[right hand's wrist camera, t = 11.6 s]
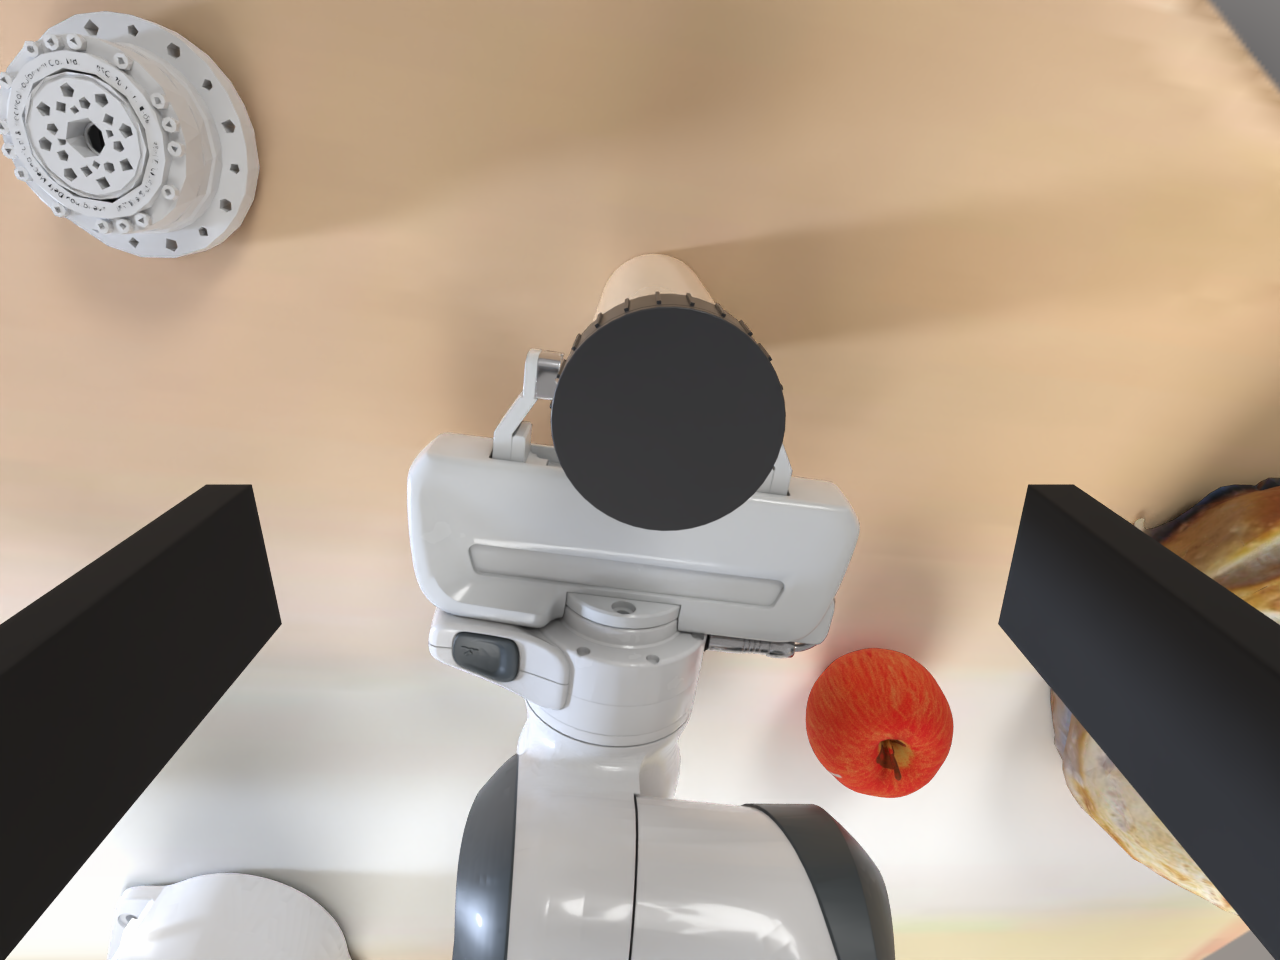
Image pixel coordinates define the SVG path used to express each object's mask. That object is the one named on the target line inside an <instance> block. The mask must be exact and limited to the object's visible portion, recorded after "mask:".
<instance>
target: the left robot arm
mask: <svg viewBox="0 0 1280 960" xmlns="http://www.w3.org/2000/svg"><path fill="white" fill-rule="evenodd" d="M563 360H564V353H560V352H553V351H547V350H542V349H532V348H531V349H530V350H529V352H528V353H527V358H526V363H525V374H524V386H523V390H522V392H521V393H520V395H519V396H518V397H517V399H516V400H515V401H514V403H513V404H512V406H511V407H510V408H509V410H508V411H507V412H506V414H505V415H504V417H503V418H502V420H501V421H500V423H499V425H498V426H497V428H496V430H495V431H494V438H488V437H480V436H473V435H465V434H457V433H442V434H440V435H438V436H437V437H436V438H435V439H433V440H432V441H431V442H430V443H429V444H427V445H426V446H425V447H424V448H423V449H422V450H421V452H420V453H419V454H418V455H417V457H416V458H415V459H414V461H413V463H412V465H411V467H410V470H409V473H408V479H407V508H408V525H409V536H410V545H411V552H412V559H413V565H414V571H415V575H416V578H417V581H418V584H419V586H420V588H421V590H422V592H423V593H424V595H425V596H426V597H427V599H428V600H429V601H430V602H431V603H432V604H433V605H435V606H436V607H437V608H436V611H435V614H434V617H433V620H432V624H431V629H430V634H429V650H430V653H431V654H432V656H433V657H434V658H435V659H437V660H438V661H440V662H442V663H444V664H446V665H449V666H451V667H454V668H456V669H459V670H462V671H464V672H467V673H469V674H472V675H475V676H477V677H480V678H482V679H484V680H487V681H489V682H492V683H494V684H496V685H498V686H501V687H503V688H505V689H507V690H509V691H511V692H513V693H516V694H518V695H520V696H521V697H523V698H524V699H525V704H526V708H527V713H528V718H527V721H526V723H525V725H524V727H523V729H522V732H521V734H520V737H519V741H518V746H517V753H516V754H515V755H514V756H512V757H511V758H510V759H509V760H508V761H506V762H505V763H504V764H503V765H502V766H501V767H500V768H499V769H498V770H497V772H496V773H495V774H494V775H493V776H492V777H491V778H490V779H489V781H488V782H487V783H486V784H485V785H484V786H483V788H482V789H481V790H480V791H479V793H478V794H477V796H476V798H475V800H474V802H473V805H472V807H471V810H470V812H469V815H468V818H467V822H466V825H465V829H464V833H463V838H462V843H461V849H460V855H459V863H458V872H457V885H456V905H455V937H454V948H453V958H452V960H895V950H894V936H893V926H892V918H891V911H890V905H889V899H888V895H887V890H886V887H885V883H884V881H883V878H882V875H881V873H880V871H879V870H878V868H877V867H876V865H875V864H874V862H873V861H872V860H871V858H870V857H869V856H868V854H867V853H866V852H865V850H864V849H863V848H862V847H861V846H860V844H859V843H858V842H857V841H856V840H855V839H854V838H853V837H852V836H851V835H850V834H849V833H848V832H847V831H846V830H845V829H844V828H843V827H842V826H841V825H840V824H839V823H838V822H837V821H836V820H835V819H834V818H833V817H832V816H831V815H829V814H828V813H827V812H826V811H825V810H824V809H822V808H821V807H819V806H817V805H814V804H744V805H741V806H737V805H727V804H717V803H707V802H697V801H687V800H678V799H674V796H675V791H676V787H677V783H678V778H679V771H680V750H679V744H678V739H679V736H680V734H681V733H682V731H683V730H684V728H685V727H686V725H687V723H688V721H689V718H690V715H691V712H692V708H693V703H694V698H695V693H696V688H697V683H698V678H699V673H700V669H701V664H702V657H703V652H704V651H705V650H712V651H720V652H729V653H755V654H757V653H758V654H764V655H766V656H768V657H773V658H791V657H793V655H794V652H799V651H804V650H807V649H810V648H812V647H814V646H816V645H818V644H820V643H822V642H823V641H824V639H825V638H826V636H827V634H828V631H829V628H830V624H831V620H832V617H833V613H834V609H835V595H836V593H837V591H838V589H839V587H840V584H841V582H842V580H843V577H844V575H845V573H846V570H847V568H848V565H849V563H850V560H851V557H852V555H853V552H854V549H855V546H856V543H857V540H858V537H859V532H860V524H859V520H858V517H857V515H856V513H855V511H854V509H853V507H852V505H851V503H850V502H849V500H848V499H847V498H846V496H845V495H844V494H843V493H842V491H841V490H840V489H839V487H838V486H837V485H836V484H834V483H832V482H830V481H825V480H817V479H809V478H801V477H793V476H791V475H792V468H791V465H790V462H789V460H788V457H787V454H786V451H785V448H784V445H783V443H782V446H781V449H780V452H779V455H778V458H777V460H776V462H775V464H774V466H773V468H772V471H771V472H770V474H769V475H768V477H767V478H766V480H765V481H764V483H763V484H762V485H761V486H760V488H759V489H758V490H757V491H756V492H755V494H754V495H753V496H751V497H750V498H749V499H748V500H747V501H746V502H745V503H744V504H743V505H741V506H740V507H738V508H737V509H736V510H734V511H733V512H731V513H730V514H728V515H726V516H724V517H722V518H720V519H719V520H716V521H714V522H711V523H709V524H706V525H703V526H699V527H695V528H692V529H685V530H678V531H656V530H647V529H642V528H638V527H633V526H630V525H628V524H625V523H622V522H619V521H617V520H615V519H613V518H611V517H609V516H607V515H606V514H604V513H602V512H601V511H599V510H598V509H596V508H595V507H594V506H593V505H591V504H590V503H589V502H588V501H587V500H585V499H584V498H583V497H582V496H581V494H580V493H579V492H578V491H577V490H576V489H575V488H574V486H573V485H572V484H571V482H570V481H569V479H568V478H567V476H566V475H565V473H564V471H563V469H562V467H561V465H560V463H559V460H558V457H557V455H556V452H555V448H554V446H551V445H543V444H535V443H531V435H532V424H531V422H526V421H522V420H523V419H524V417H525V416H526V415H527V413H528V412H529V411H530V409H531V408H532V406H533V405H534V404H535V402H536V401H537V400H538V399H547V400H552V399H553V396H554V392H555V389H556V386H557V383H558V380H559V378H556V377H557V374H558V372H559V370H560V367H561V365H562V363H563ZM795 642H797V644H795ZM107 960H352V959H351V957H350V955H349V952H348V948H347V944H346V940H345V937H344V935H343V932H342V930H341V929H340V927H339V925H338V924H337V922H336V921H335V919H334V918H333V917H332V916H331V915H330V914H329V913H328V911H327V910H325V909H324V908H323V907H322V906H321V905H320V904H319V903H317V902H316V901H315V900H313V899H312V898H310V897H309V896H307V895H306V894H304V893H302V892H300V891H298V890H296V889H294V888H292V887H290V886H288V885H286V884H283V883H280V882H277V881H274V880H271V879H268V878H264V877H260V876H255V875H249V874H240V873H214V874H206V875H201V876H196V877H193V878H189V879H186V880H184V881H181V882H178V883H175V884H171V885H166V886H135V887H131V888H128V889H126V890H125V891H124V893H123V894H122V896H121V898H120V900H119V901H118V903H117V905H116V909H115V915H114V921H113V926H112V932H111V938H110V944H109V950H108V956H107Z"/></svg>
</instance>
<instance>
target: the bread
mask: <svg viewBox="0 0 1280 960" xmlns="http://www.w3.org/2000/svg"><path fill="white" fill-rule="evenodd" d="M1144 521H1145V519H1144V518H1140V519H1138V520H1136V521H1135V523H1134V525H1135V527H1137V528H1138V529H1140V530H1141V531H1143V532H1144V533H1146V534H1147V535H1148V536H1150V537H1151V538H1153V539H1154V540H1156V541H1157V542H1159V543H1160V544H1162V545H1163V546H1165V547H1166V548H1168V549H1169V550H1171V551H1172V552H1173V553H1175V554H1176V555H1178V556H1179V557H1181V558H1182V559H1184V560H1185V561H1187V562H1188V563H1190V564H1191V565H1193V566H1194V567H1196V568H1197V569H1198V570H1200V571H1201V572H1203V573H1204V574H1206V575H1207V576H1209V577H1210V578H1212V579H1213V580H1215V581H1216V582H1218V583H1219V584H1220V585H1222V586H1223V587H1225V588H1226V589H1228V590H1229V591H1231V592H1232V593H1234V594H1235V595H1237V596H1238V597H1240V598H1241V599H1243V600H1244V601H1245V602H1247V603H1248V604H1250V605H1251V606H1253V607H1254V608H1256V609H1257V610H1259V611H1260V612H1262V613H1263V614H1265V615H1266V616H1268V617H1269V618H1270V619H1272V620H1273V621H1275V622H1276V623H1278V624H1279V625H1280V478H1268V479H1266V480H1263V481H1261V482H1260V483H1258V484H1257V485H1256V486H1253V485H1230V486H1224V487H1220V488H1218V489H1217V490H1215V491H1213V492H1211V493H1210V494H1208V495H1207V496H1206V497H1205V498H1203V499H1202V500H1201V501H1200V502H1199V503H1197V504H1196V505H1195V506H1194V507H1192V508H1191V509H1189V510H1188V511H1186V512H1185V513H1183V514H1182V515H1180V516H1179V517H1177V518H1176V519H1174V520H1172V521H1170V522H1167V523H1165V524H1163V525H1160V526H1158V527H1156V528H1153V529H1146V528H1144V525H1143V523H1144ZM1051 709H1052V718H1053V726H1054V732H1055V738H1054V744H1055V746H1056V748H1057V750H1058V752H1059V754H1060V756H1061V758H1062V760H1063V773H1064V776H1065V780H1066V783H1067V786H1068V788H1069V790H1070V791H1071V793H1072V795H1073V797H1074V798H1075V799H1076V801H1077V802H1078V804H1079V805H1080V806H1081V808H1082V809H1083V810H1084V811H1085V812H1087V813H1088V814H1089V815H1090V816H1091V817H1092V818H1093V819H1094V820H1095V821H1096V822H1097V823H1098V824H1099V825H1100V826H1101V827H1102V828H1103V829H1104V830H1105V831H1106V832H1107V833H1108V834H1109V835H1110V836H1111V837H1112V838H1113V839H1114V840H1115V841H1116V842H1117V843H1118V844H1119V845H1120V846H1121V847H1122V848H1123V849H1124V850H1125V851H1126V852H1127V853H1128V854H1129V855H1130V856H1131V857H1132V858H1133V859H1135V860H1136V861H1138V862H1140V863H1142V864H1144V865H1145V866H1147V867H1148V868H1150V869H1151V870H1153V871H1154V872H1156V873H1157V874H1159V875H1160V876H1162V877H1164V878H1166V879H1168V880H1169V881H1171V882H1173V883H1175V884H1176V885H1178V886H1180V887H1182V888H1184V889H1186V890H1188V891H1190V892H1192V893H1194V894H1196V895H1198V896H1200V897H1202V898H1204V899H1206V900H1208V901H1210V902H1211V903H1213V904H1214V905H1216V906H1217V907H1219V908H1221V909H1223V910H1224V911H1227V912H1230V913H1233V914H1235V915H1238V914H1237V913H1236V911H1235V910H1234V909H1233V908H1232V907H1231V905H1230V904H1229V903H1228V902H1227V901H1226V899H1225V898H1224V897H1223V896H1222V895H1221V893H1220V892H1219V891H1218V890H1217V888H1216V887H1215V886H1214V885H1213V884H1212V882H1211V881H1210V880H1209V879H1208V878H1207V876H1206V875H1205V874H1204V873H1203V871H1202V870H1201V869H1200V868H1199V867H1198V865H1197V864H1196V863H1195V862H1194V861H1193V859H1192V858H1191V857H1190V856H1189V855H1188V853H1187V852H1186V851H1185V850H1184V848H1183V847H1182V846H1181V845H1180V844H1179V842H1178V841H1177V840H1176V839H1175V838H1174V836H1173V835H1172V834H1171V833H1170V831H1169V830H1168V829H1167V828H1166V827H1165V825H1164V824H1163V823H1162V822H1161V821H1160V819H1159V818H1158V817H1157V816H1156V815H1155V813H1154V812H1153V811H1152V810H1151V808H1150V807H1149V806H1148V805H1147V804H1146V802H1145V801H1144V800H1143V799H1142V798H1141V796H1140V795H1139V794H1138V793H1137V792H1136V790H1135V789H1134V788H1133V787H1132V785H1131V784H1130V783H1129V782H1128V781H1127V779H1126V778H1125V777H1124V776H1123V775H1122V773H1121V772H1120V771H1119V770H1118V768H1117V767H1116V766H1115V765H1114V764H1113V762H1112V761H1111V760H1110V759H1109V758H1108V756H1107V755H1106V754H1105V753H1104V752H1103V750H1102V749H1101V748H1100V747H1099V745H1098V744H1097V743H1096V742H1095V741H1094V739H1093V738H1092V737H1091V736H1090V735H1089V733H1088V732H1087V731H1086V730H1085V728H1084V727H1083V726H1082V725H1081V724H1080V722H1079V721H1078V720H1077V719H1076V718H1075V716H1074V715H1073V714H1072V713H1071V712H1070V710H1069V709H1068V708H1067V707H1066V705H1065V704H1064V703H1063V702H1062V701H1061V699H1060V698H1059V697H1058V696H1057V695H1056V693H1055V692H1054V691H1053V690H1052V688H1051ZM1238 916H1239V915H1238Z"/></svg>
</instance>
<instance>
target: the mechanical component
mask: <svg viewBox="0 0 1280 960" xmlns="http://www.w3.org/2000/svg"><path fill="white" fill-rule="evenodd" d="M0 86H1V88H0V134H3V139H4V143H5V144H3V146H2V148H1V150H2V152H3V154H4V155H5V156H6V157H7V158H9V159H12V160H13V162H14V164H15V167H16V169H14V170H15V176H16V177H17V179H19V180H22V181H24V182H26V183H27V184H28V186H29V187H30V188H31V189H32V190H33V191H34V192H35V193H36V195H37V196H38V197H39V198H40V199H41V200H42V201H43V202H44V203H45V204H47V205H48V206H49V207H50V208H51V209H52V211H53V213H54V215H56V216H58V217H65V218H67V219H69V220H71V221H72V222H73V223H75V224H76V225H78V226H79V227H81V228H82V229H84V230H85V231H86V232H88V233H89V234H91V235H92V236H94V237H95V238H97V239H98V240H100V241H101V242H103V243H104V244H106V245H107V246H110V247H113V248H116V249H119V250H122V251H125V252H128V253H131V254H134V255H137V256H140V257H159V258H177V257H181V256H186V255H190V254H195V253H199V252H203V251H207V250H209V249H211V248H213V247H215V246H217V245H219V244H221V243H222V242H224V241H225V240H226V239H227V238H228V237H229V236H230V235H231V234H232V233H233V232H234V231H235V230H237V229H238V228H239V227H240V226H241V224H242V222H243V220H244V218H245V216H246V214H247V212H248V210H249V208H250V206H251V204H252V202H253V200H254V197H255V191H256V186H257V180H258V175H259V169H260V166H259V159H258V152H257V146H256V139H255V132H254V129H253V126H252V124H251V121H250V118H249V116H248V113H247V110H246V108H245V105H244V103H243V101H242V100H241V98H240V96H239V95H238V93H237V91H236V89H235V88H234V86H233V84H232V83H231V81H230V80H229V79H228V78H227V76H226V75H225V74H224V73H223V72H222V71H221V69H220V68H219V67H218V66H217V65H216V64H215V62H214V61H213V60H212V59H211V58H210V57H209V55H207V54H206V53H205V52H203V51H202V50H200V49H199V48H198V47H196V46H195V45H194V44H192V43H191V42H190V41H188V40H187V39H186V38H184V37H183V36H181V35H180V34H179V33H177V32H175V31H172V30H170V29H168V28H166V27H164V26H161V25H159V24H157V23H154V22H151V21H148V20H145V19H142V18H139V17H136V16H133V15H129V14H122V13H115V12H108V11H103V12H94V13H85V14H76V15H74V16H72V17H70V18H68V19H66V20H64V21H62V22H60V23H58V24H57V25H55V26H53V27H51V28H49V29H48V30H47V31H46V32H45V33H44V34H43V36H42V37H41V38H40V39H39V40H38V41H36V42H33V41H25V43H24V46H23V48H22V49H21V51H20V52H19V53H18V55H17V56H16V57H15V58H14V60H13V61H12V62H11V64H10V65H9V66H8V67H7V70H6V72H1V73H0ZM234 126H235V128H234Z"/></svg>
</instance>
